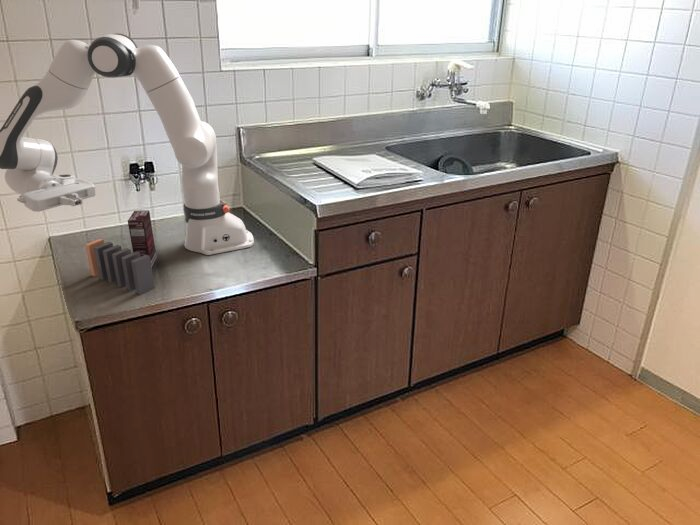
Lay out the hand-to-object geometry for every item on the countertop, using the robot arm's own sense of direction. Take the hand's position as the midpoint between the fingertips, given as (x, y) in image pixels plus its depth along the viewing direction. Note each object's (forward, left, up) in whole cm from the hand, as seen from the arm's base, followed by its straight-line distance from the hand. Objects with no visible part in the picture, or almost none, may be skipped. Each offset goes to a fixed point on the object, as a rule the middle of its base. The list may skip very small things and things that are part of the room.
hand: (78, 202), depth 170 cm
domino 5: (-13, +16, -21) cm, 30 cm away
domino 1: (-3, +4, -21) cm, 22 cm away
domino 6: (-16, +19, -21) cm, 33 cm away
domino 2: (-6, +7, -21) cm, 23 cm away
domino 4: (-11, +13, -21) cm, 27 cm away
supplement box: (-16, +1, -21) cm, 26 cm away
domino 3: (-8, +10, -21) cm, 25 cm away
